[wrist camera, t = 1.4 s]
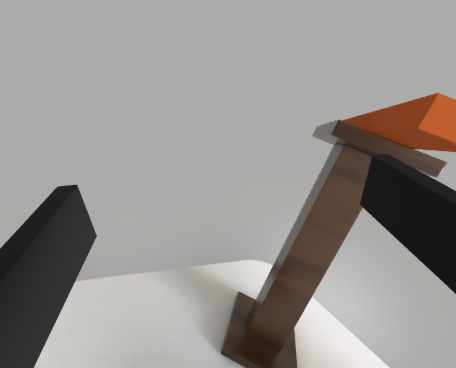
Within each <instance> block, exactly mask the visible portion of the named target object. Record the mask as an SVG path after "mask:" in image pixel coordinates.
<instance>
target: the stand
mask: <svg viewBox="0 0 456 368" xmlns="http://www.w3.org/2000/svg"><path fill="white" fill-rule="evenodd" d="M313 136H314V137H316V138H318V139H321V140H323V141H325V142H328V143H330V144H333V145H334V147H333V149H332V151H331V153H330V155H329V156H328V158H327V160H326V162H325V164H324V166H323V168H322V170H321V172H320V174H319V176H318V179H317V180H316V182H315V184H314V186H313V188H312V190H311V192H310V194H309V196H308V198H307V200H306V202H305V204H304V206H303V208H302V210H301V212H300V214H299V216H298V218H297V220H296V222H295V224H294V226H293V228H292V229H291V231H290V233H289V235H288V237H287V239H286V242H285V243H284V245H283V248H282V249H281V251H280V253H279V255H278V257H277V259H276V261H275V263H274V265H273V267H272V269H271V271H270V273H269V275H268V277H267V279H266V281H265V283H264V285H263V287H262V289H261V291H260V293H259V295H258V297H257V299H256V300H255V299H253V298H251V297H249V296H247V295H245V294H243V293H241V292H238V294H237V296H236V299H235V303H234V306H233V310H232V314H231V317H230V321H229V325H228V328H227V332H226V336H225V339H224V343H223V347H222V350H221V354H222V355H224V356H226V357H228V358H230V359H232V360H233V361H235V362H237V363H239V364H241V365H243V366H245V367H247V368H297V359H296V346H295V333H294V327H295V325H296V324H297V322H298V320H299V318H300V317H301V315H302V313H303V311H304V310H305V308H306V306H307V304H308V303H309V301H310V299H311V297H312V295H313V294H314V292H315V290H316V289H317V287H318V285H319V283H320V282H321V280H322V278H323V276H324V275H325V273H326V271H327V269H328V268H329V266H330V264H331V262H332V261H333V259H334V257H335V256H336V254H337V252H338V250H339V248H340V247H341V245H342V243H343V241H344V240H345V238H346V236H347V234H348V232H349V231H350V229H351V228H352V226H353V224H354V222H355V220H356V219H357V217H358V215H359V213H360V211H361V210H362V208H363V207H362V206H361V205H360V201H361V197H362V193H363V190H364V186H365V182H366V178H367V174H368V170H369V166H370V162H371V158H372V155H380V154H389V155H391V156H393V157H394V158H396V159H398V160H400V161H402V162H404V163H405V164H407V165H409V166H411V167H413V168H415V169H416V170H418V171H420V172H422V173H424V174H426V175H429V176H433V177H438V176H439V175H440V173H441V171H442V170H443V168H444V167H445V165H446V164H447V162H445V161H442V160H440V159H437V158H435V157H432V156H430V155H427V154H425V153H422V152H420V151H417V150H415V149H412V148H410V147H407V146H404V145H402V144H399V143H397V142H394V141H392V140H389V139H387V138H384V137H382V136H379V135H377V134H374V133H372V132H369V131H366V130H364V129H361V128H359V127H356V126H354V125H351V124H349V123H346V122H344V121H341V120H337V121H334V122H330V123H327V124H324V125H321V126H318V127H317V128H316V130H315V132H314V134H313Z"/></svg>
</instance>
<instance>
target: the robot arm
mask: <svg viewBox="0 0 456 368" xmlns="http://www.w3.org/2000/svg"><path fill="white" fill-rule="evenodd" d="M360 205H361V206H362V207H363V208H364V209H365V210H366V211H367V212H368V213H369V214H371V215H372V216H373V217H374V218H375V219H376V220H377V221H378V222H379V223H380V224H381V225H382V226H383V227H385V228H386V229H387V230H388V231H389V232H390V233H391V234H392V235H393V236H394V237H395V238H396V239H397V240H398V241H400V242H401V243H402V244H403V245H404V246H405V247H406V248H407V249H408V250H409V251H410V252H411V253H412V254H414V255H415V256H416V257H417V258H418V259H419V260H420V261H421V262H422V263H423V264H424V265H425V266H427V268H429V269H430V270H431V271H432V272H433V273H434V274H435V275H436V276H437V277H438V278H440V279H441V281H443V282H444V283H445V284H446V285H447V286H448V287H449V288H450V289H451V290H452V291H453V292H454V293H455V294H456V191H455V190H453V189H451V188H449V187H448V186H446V185H444V184H442V183H440V182H438V181H436V180H435V179H433V178H431V177H429V176H427V175H426V174H424V173H422V172H420V171H418V170H416V169H415V168H413V167H411V166H409V165H407V164H405V163H404V162H402V161H400V160H398V159H396V158H394V157H393V156H391V155H389V154H380V155H372V158H371V162H370V166H369V170H368V174H367V178H366V182H365V186H364V190H363V193H362V197H361V201H360ZM96 236H97V235H96V233H95V230H94V228H93V225H92V222H91V220H90V217H89V214H88V212H87V209H86V207H85V204H84V202H83V199H82V196H81V194H80V191H79V189H78V186H77V185H71V186H59V187H57V188H56V189H55V190H54V191H53V192H52V193H51V194H50V195H49V197H48V198H47V199H46V200H45V201H44V202H43V203H42V204H41V205H40V206H39V207H38V208H37V209H36V210H35V212H34V213H33V214H32V215H31V216H30V217H29V218H28V219H27V220H26V221H25V222H24V224H23V225H22V226H21V227H20V228H19V229H18V230H17V231H16V232H15V233H14V234H13V235H12V236H11V238H10V239H9V240H8V241H7V242H6V243H5V244H4V245H3V246H2V247H1V249H0V368H34V366H35V364H36V362H37V360H38V358H39V356H40V353H41V351H42V349H43V347H44V345H45V343H46V341H47V339H48V337H49V335H50V333H51V331H52V328H53V326H54V324H55V322H56V320H57V318H58V316H59V314H60V312H61V310H62V308H63V305H64V303H65V301H66V299H67V297H68V295H69V293H70V291H71V289H72V287H73V285H74V283H75V280H76V278H77V276H78V274H79V272H80V270H81V268H82V266H83V264H84V262H85V260H86V257H87V255H88V253H89V251H90V249H91V247H92V245H93V243H94V241H95V239H96Z"/></svg>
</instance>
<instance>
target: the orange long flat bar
mask: <svg viewBox="0 0 456 368" xmlns="http://www.w3.org/2000/svg"><path fill="white" fill-rule="evenodd" d="M343 121H344V122H346V123H349V124H351V125H354V126H356V127H359V128H361V129H364V130H366V131H369V132H372V133H374V134H377V135H379V136H382V137H384V138H387V139H389V140H392V141H394V142H397V143H399V144H402V145H404V146H407V147H410V148H412V149H423V150H437V151H450V152H456V100H455V99H452V98H450V97H447V96H444V95H441V94H438V93H436V94H433V95H429V96H426V97H423V98H419V99H415V100H412V101H408V102H405V103H402V104H398V105H395V106H391V107H388V108H384V109H381V110H377V111H374V112H370V113H367V114H363V115H360V116H356V117H353V118H350V119H346V120H343Z"/></svg>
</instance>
